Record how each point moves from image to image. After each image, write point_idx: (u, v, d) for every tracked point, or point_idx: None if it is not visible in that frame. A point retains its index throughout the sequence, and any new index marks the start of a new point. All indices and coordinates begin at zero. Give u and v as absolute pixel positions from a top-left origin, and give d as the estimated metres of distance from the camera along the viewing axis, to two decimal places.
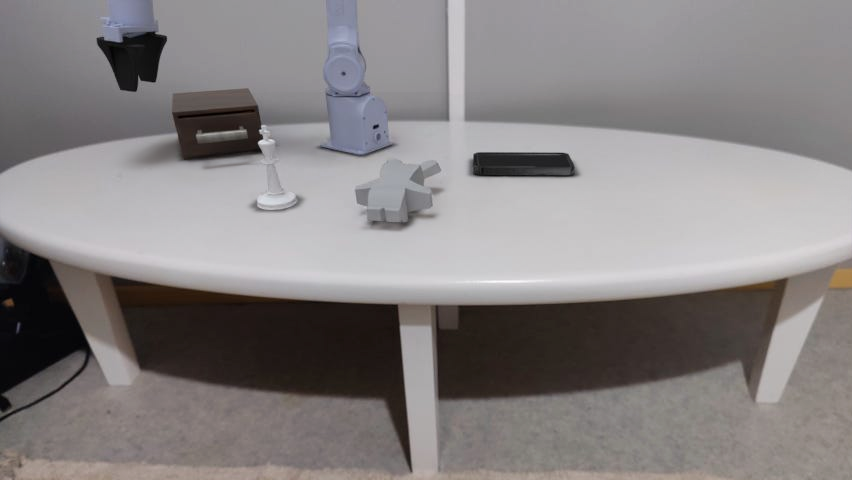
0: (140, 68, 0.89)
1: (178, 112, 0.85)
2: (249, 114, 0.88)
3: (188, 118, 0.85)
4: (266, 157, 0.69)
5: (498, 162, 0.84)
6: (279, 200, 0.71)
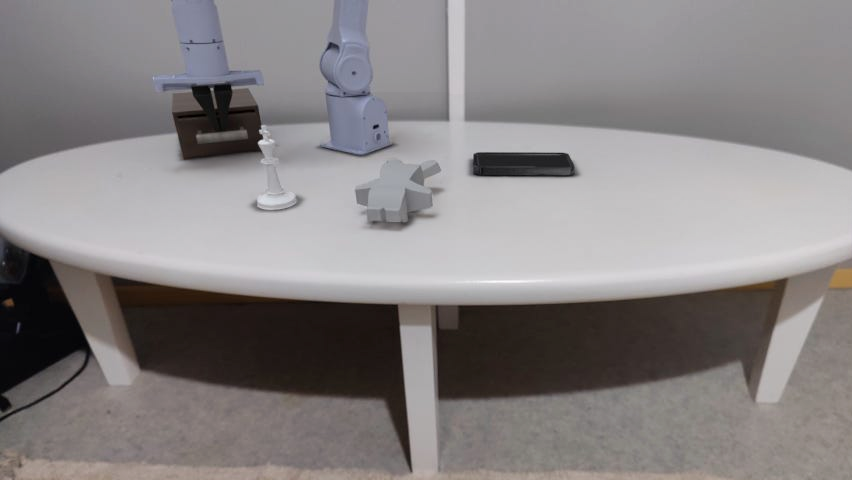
0: None
1: (178, 112, 0.85)
2: (249, 114, 0.88)
3: (188, 118, 0.85)
4: (266, 157, 0.69)
5: (498, 162, 0.84)
6: (279, 200, 0.71)
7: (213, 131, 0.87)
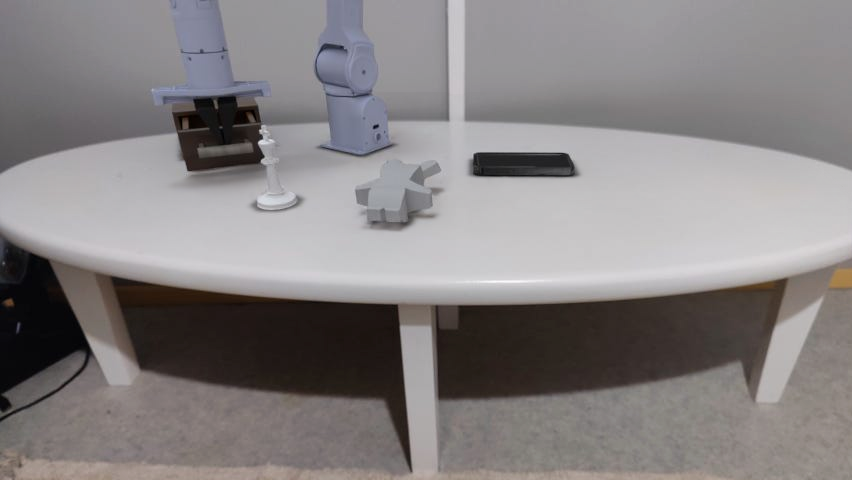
0: None
1: (178, 112, 0.85)
2: (254, 126, 0.82)
3: (189, 130, 0.79)
4: (266, 157, 0.69)
5: (498, 162, 0.84)
6: (279, 200, 0.71)
7: (216, 144, 0.81)
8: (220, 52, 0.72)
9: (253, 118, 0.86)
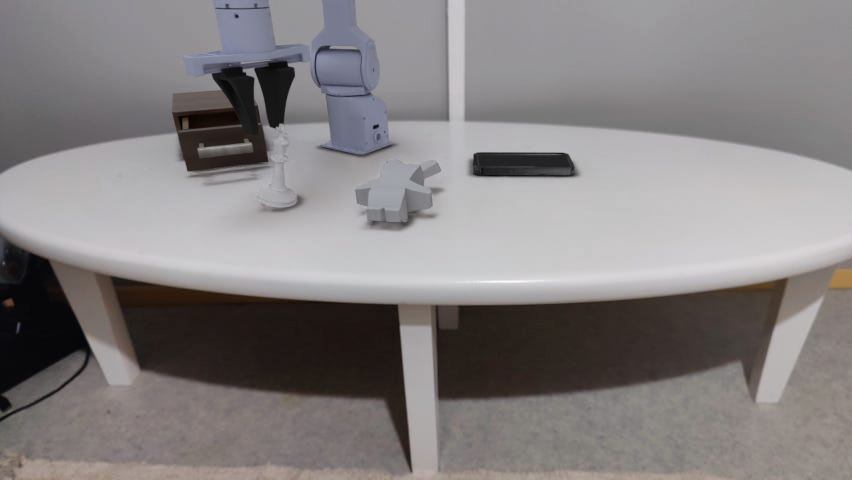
0: (268, 111, 0.69)
1: (178, 112, 0.85)
2: None
3: (189, 130, 0.79)
4: (277, 154, 0.69)
5: (498, 162, 0.84)
6: (281, 199, 0.71)
7: (216, 144, 0.81)
8: (268, 8, 0.62)
9: None
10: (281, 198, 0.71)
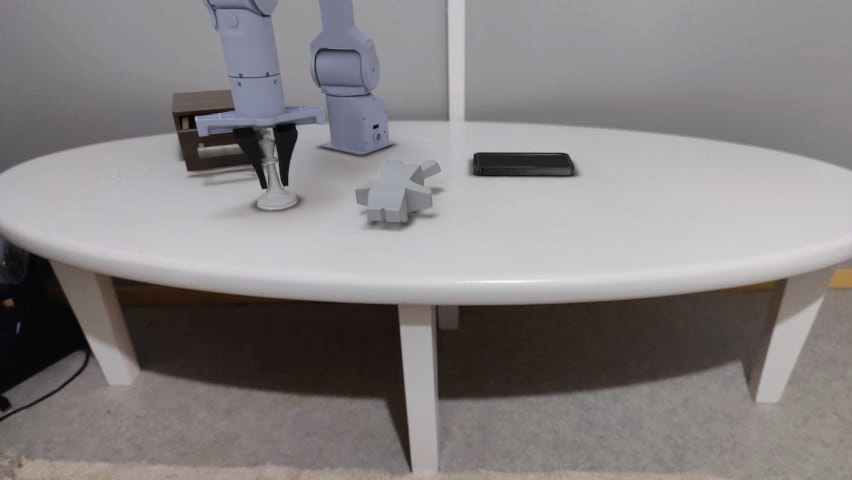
0: (264, 174, 0.69)
1: (178, 112, 0.85)
2: None
3: (189, 130, 0.79)
4: (266, 157, 0.69)
5: (498, 162, 0.84)
6: (279, 200, 0.71)
7: (216, 144, 0.81)
8: None
9: None
10: (279, 200, 0.71)
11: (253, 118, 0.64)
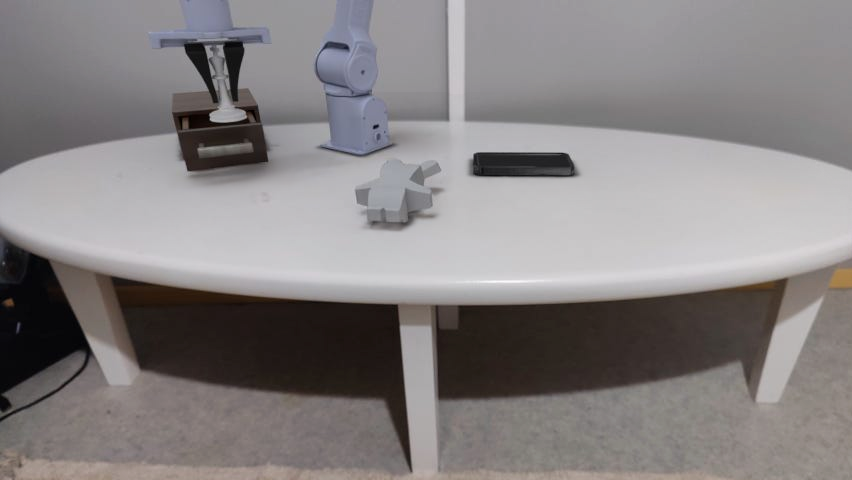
0: (214, 88, 0.76)
1: (178, 112, 0.85)
2: (254, 125, 0.82)
3: (189, 130, 0.79)
4: (216, 73, 0.76)
5: (498, 162, 0.84)
6: (229, 114, 0.77)
7: (216, 144, 0.81)
8: None
9: (253, 118, 0.86)
10: (229, 114, 0.78)
11: (201, 32, 0.71)
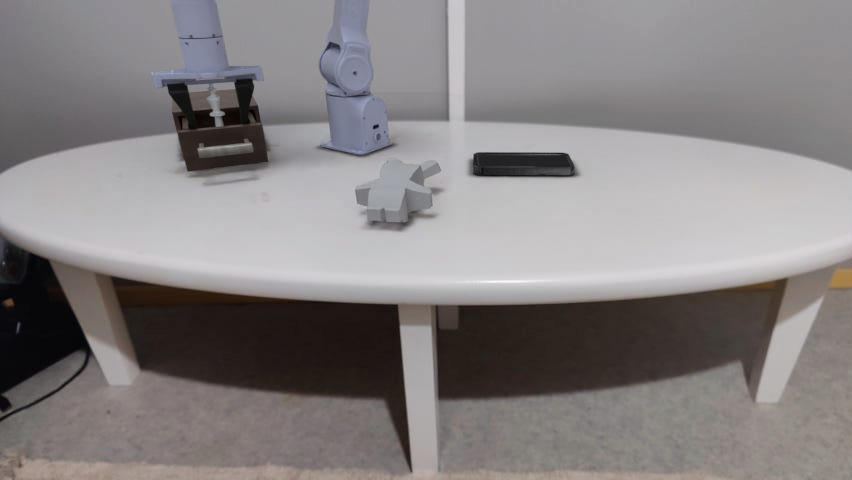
0: (196, 123, 0.82)
1: (178, 112, 0.85)
2: (254, 126, 0.82)
3: (189, 130, 0.79)
4: (214, 110, 0.83)
5: (498, 162, 0.84)
6: None
7: (216, 144, 0.81)
8: None
9: (253, 118, 0.86)
10: None
11: (199, 73, 0.78)
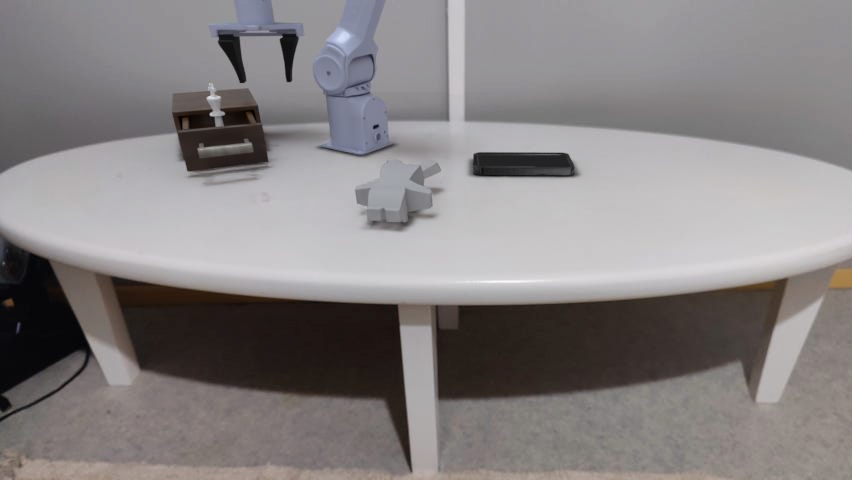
0: (241, 71, 0.94)
1: (178, 112, 0.85)
2: (254, 126, 0.82)
3: (189, 130, 0.79)
4: (213, 110, 0.83)
5: (498, 162, 0.84)
6: None
7: (216, 144, 0.81)
8: None
9: (253, 118, 0.86)
10: None
11: (245, 25, 0.90)
